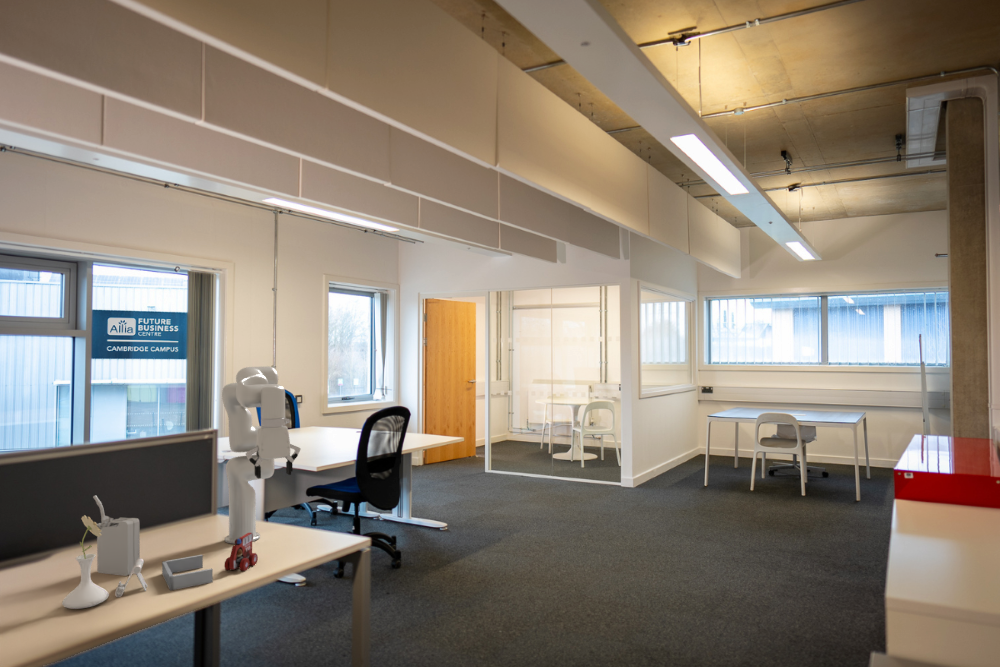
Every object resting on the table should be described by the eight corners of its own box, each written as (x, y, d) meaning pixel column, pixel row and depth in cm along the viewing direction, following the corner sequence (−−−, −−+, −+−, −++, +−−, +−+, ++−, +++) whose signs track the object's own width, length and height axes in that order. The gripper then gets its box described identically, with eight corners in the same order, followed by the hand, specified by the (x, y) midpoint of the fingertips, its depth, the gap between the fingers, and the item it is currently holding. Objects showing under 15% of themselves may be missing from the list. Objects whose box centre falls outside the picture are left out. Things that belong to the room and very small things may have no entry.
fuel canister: (90, 572, 218) (90, 496, 218) (103, 567, 222) (103, 492, 223) (127, 576, 213) (126, 498, 214) (139, 571, 218) (139, 495, 218)
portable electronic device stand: (119, 588, 203) (118, 560, 203) (148, 584, 206) (147, 557, 206) (115, 597, 195) (115, 569, 195) (145, 593, 198) (145, 565, 198)
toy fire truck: (220, 573, 214) (220, 541, 214) (241, 561, 226) (241, 530, 227) (240, 574, 213) (240, 542, 213) (260, 562, 225) (260, 531, 226)
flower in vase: (109, 606, 188) (109, 518, 188) (61, 616, 182) (61, 524, 182) (107, 592, 199) (107, 509, 199) (62, 601, 193) (62, 515, 193)
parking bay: (162, 573, 215) (162, 561, 215) (202, 566, 221) (202, 554, 221) (170, 590, 200) (170, 577, 200) (212, 582, 206) (212, 569, 207)
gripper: (296, 420, 224) (296, 471, 224) (242, 424, 214) (243, 477, 214) (303, 422, 218) (303, 474, 217) (248, 426, 208) (249, 481, 208)
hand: (273, 476), depth 216 cm, fingers open, 9 cm apart
